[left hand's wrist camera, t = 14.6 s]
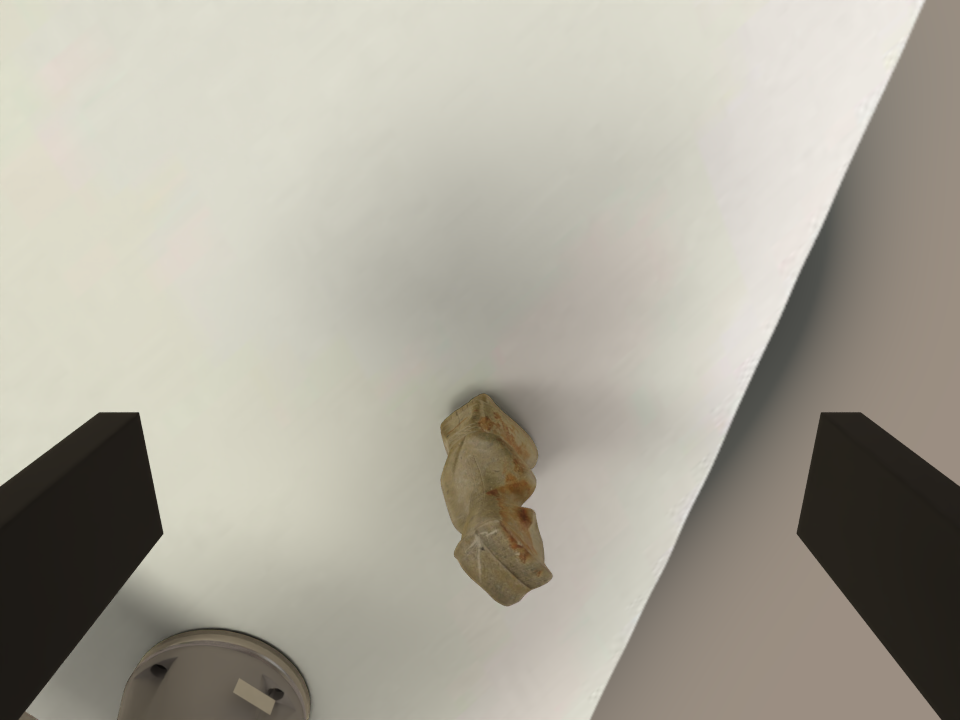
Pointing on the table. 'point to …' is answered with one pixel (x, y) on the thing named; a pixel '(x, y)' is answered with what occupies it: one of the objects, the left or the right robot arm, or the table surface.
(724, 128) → the table surface
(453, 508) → the sculpture
